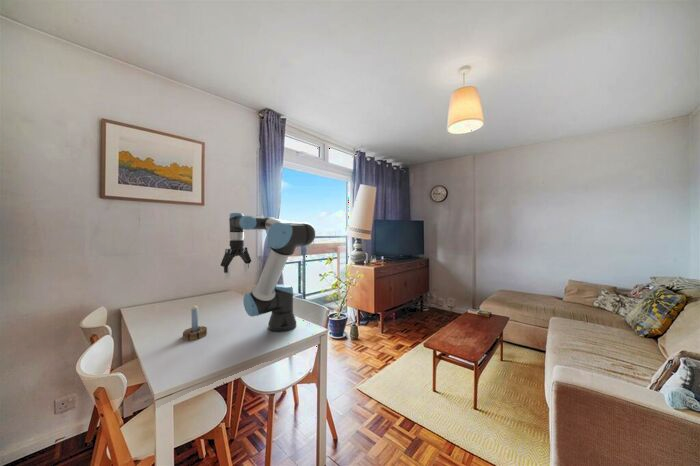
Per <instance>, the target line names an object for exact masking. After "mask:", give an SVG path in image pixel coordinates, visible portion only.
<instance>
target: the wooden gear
mask: <svg viewBox="0 0 700 466" xmlns="http://www.w3.org/2000/svg"><path fill="white" fill-rule="evenodd" d="M207 334H208V327H206V326H203V325H202V326H201V325H198V331H197V332H192V327H189V328H187V329H185V330H183V332H182V340H184V341H195V340H201V339H202V338H205V337H206V336H207Z"/></svg>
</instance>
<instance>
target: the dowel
mask: <svg viewBox="0 0 700 466" xmlns="http://www.w3.org/2000/svg"><path fill="white" fill-rule="evenodd" d="M190 313H191V328H192V332H197V331H198V326H199V307H198V305H193V306H192V307H191V312H190Z"/></svg>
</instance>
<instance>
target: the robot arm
mask: <svg viewBox="0 0 700 466" xmlns="http://www.w3.org/2000/svg"><path fill="white" fill-rule="evenodd" d="M228 223H229V224H228V225H229V247H230V248H225V251H224V254H223V258H222V259H221V262H220V266H221V267H222V268H223V272H224V279H226V280H227V279H228V280H230V279H231V278H230V277H231V276H230V275H231V274H230V272H231V271H230V270H231V269H230V265H231V262H232V261H233V259H234V258H235V257H240V258H241V260H242V261H243V275H249V266H250V265H249V264H251V263H252V259H251V256H250V253H249V252H248V251H249V250H248V247H247V246H245V240H244V239H245V230H247V231H248V230H249V231H251V230H258V231H259V230H265V231H267V234H266V235H267V238H266V241H267V244H268V247H269V249H270V250H269V254H268V256H267V259H266V261H265V264H264V266H263V269H262V272H261V275H260V277H259V279H258V283H257V284H255V285H253V287H252V289H251V291H250V292H249V293H245V295H244V296H243V299H242V300H243V306H244V311H245V312H246V314H247V315H248V316H249V317H253V318H254V317H258V316H261V315H264V314H267V313H270V312H271V314H270V317H269V321H268V325H267V326H268V330H269V331H271V332H276V333H278V332H280V333H281V332H283V333H284V332H288V331H290V330H293V329H295V328H296V327H297V319H296V317H295V314H294V288H293V286H291V285H290V284H278V281H279V280H280V278H281V275H282V273H283V271H284V268H285V265H286V263H287V261H288V259H289V257H290V256H292V255H294V253H295V251H296V249H297V248H301V247H307V246H309V245H310V244H312V243H313V242H314V240H315V239H316V230H315V228H314V226H313V225H312V224H311V223H308V222H303V221H300V222H299V221H288V220H283V219H278V218H276V217H274V216H273V217H272V216H258V215H257V216H255V215H244V213H242V212H231V213H230V214H229V219H228Z"/></svg>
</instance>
